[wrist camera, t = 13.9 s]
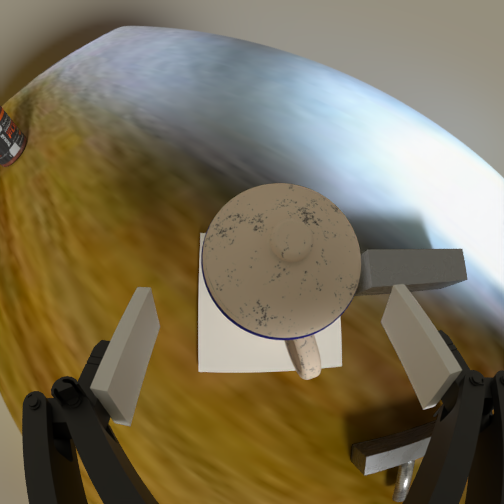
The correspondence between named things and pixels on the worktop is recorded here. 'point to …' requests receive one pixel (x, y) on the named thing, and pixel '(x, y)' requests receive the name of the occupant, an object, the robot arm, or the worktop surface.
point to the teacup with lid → (282, 266)
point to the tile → (250, 342)
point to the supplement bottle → (10, 140)
